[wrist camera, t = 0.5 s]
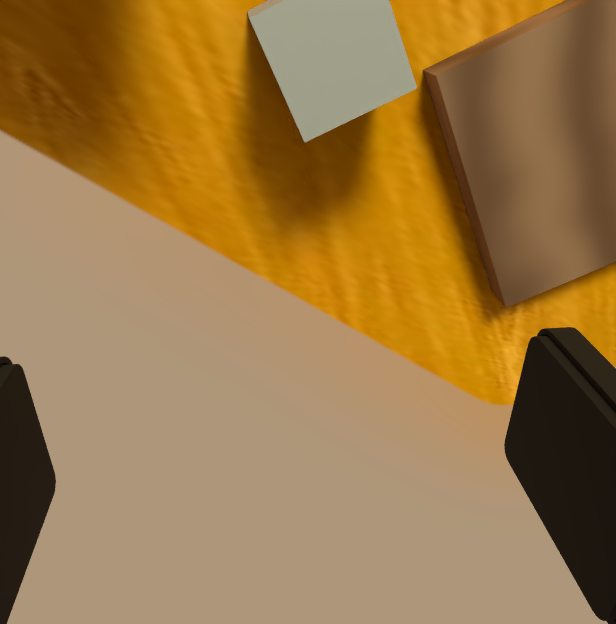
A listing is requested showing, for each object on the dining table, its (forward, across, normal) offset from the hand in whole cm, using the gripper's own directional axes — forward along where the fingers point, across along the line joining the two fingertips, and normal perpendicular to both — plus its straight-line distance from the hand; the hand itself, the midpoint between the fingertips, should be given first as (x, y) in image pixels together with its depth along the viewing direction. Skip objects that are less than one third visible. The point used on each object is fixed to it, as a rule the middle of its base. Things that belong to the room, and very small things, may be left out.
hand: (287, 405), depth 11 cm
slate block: (+26, -4, -4) cm, 26 cm away
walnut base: (+26, -20, +1) cm, 33 cm away
